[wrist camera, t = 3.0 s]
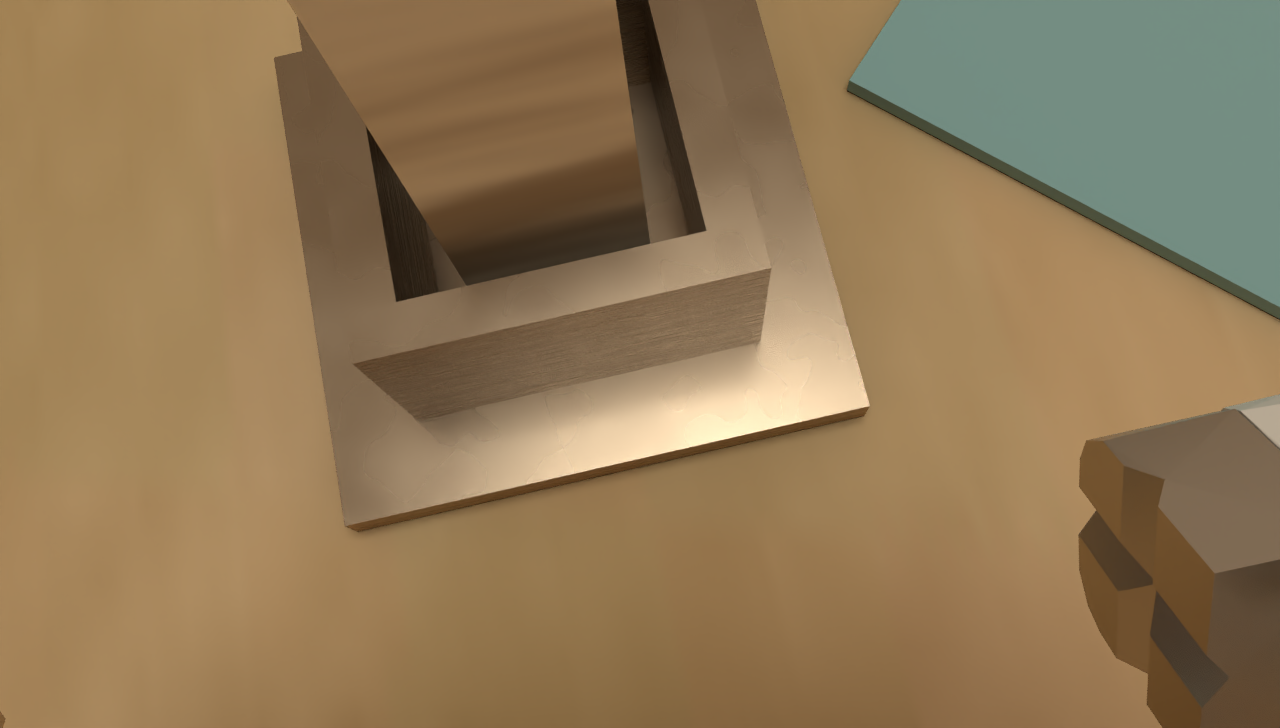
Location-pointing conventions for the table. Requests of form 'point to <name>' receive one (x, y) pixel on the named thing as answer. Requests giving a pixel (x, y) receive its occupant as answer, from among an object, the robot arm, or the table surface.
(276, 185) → the table surface
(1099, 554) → the robot arm
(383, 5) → the maple bar
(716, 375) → the tan hollow square block
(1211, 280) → the teal mat
